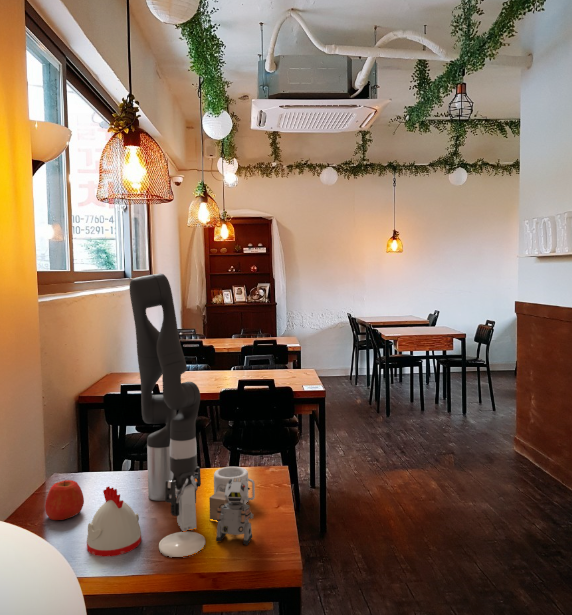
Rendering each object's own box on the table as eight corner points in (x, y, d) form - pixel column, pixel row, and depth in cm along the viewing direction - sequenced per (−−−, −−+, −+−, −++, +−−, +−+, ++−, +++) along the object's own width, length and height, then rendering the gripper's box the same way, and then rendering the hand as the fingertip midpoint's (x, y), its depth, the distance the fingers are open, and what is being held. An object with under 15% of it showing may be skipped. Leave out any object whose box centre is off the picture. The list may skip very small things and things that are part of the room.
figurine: (258, 529, 149) (258, 477, 148) (245, 549, 138) (245, 493, 137) (228, 525, 151) (227, 474, 151) (213, 545, 140) (212, 490, 140)
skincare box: (197, 529, 149) (196, 487, 149) (181, 532, 147) (180, 490, 147) (190, 520, 155) (190, 480, 154) (175, 523, 153) (175, 482, 152)
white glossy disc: (175, 532, 148) (175, 528, 148) (213, 539, 143) (213, 535, 143) (149, 552, 137) (149, 548, 137) (189, 561, 132) (189, 557, 132)
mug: (207, 507, 164) (207, 475, 164) (224, 493, 174) (224, 464, 174) (247, 514, 159) (246, 481, 159) (262, 500, 169) (261, 469, 169)
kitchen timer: (122, 526, 152) (121, 475, 151) (151, 541, 143) (150, 486, 142) (76, 545, 141) (75, 490, 140) (105, 562, 132) (104, 503, 132)
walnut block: (218, 513, 159) (217, 491, 159) (232, 516, 158) (232, 493, 157) (209, 521, 155) (209, 497, 154) (225, 523, 153) (224, 500, 152)
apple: (70, 525, 152) (69, 489, 152) (36, 522, 154) (35, 486, 154) (91, 509, 163) (90, 475, 162) (59, 506, 165) (58, 473, 164)
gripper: (186, 444, 158) (186, 498, 158) (156, 459, 145) (157, 517, 145) (207, 447, 155) (208, 502, 156) (179, 462, 142) (180, 522, 142)
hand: (184, 509), depth 150 cm, fingers open, 8 cm apart
